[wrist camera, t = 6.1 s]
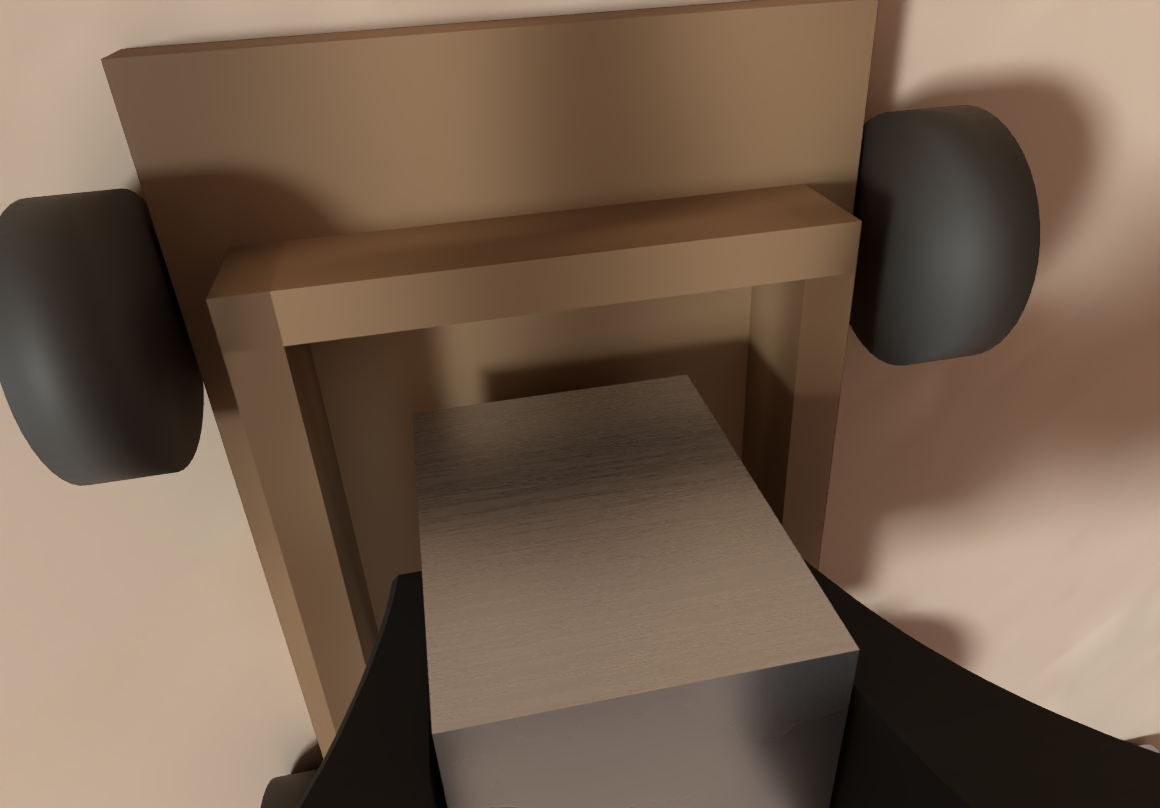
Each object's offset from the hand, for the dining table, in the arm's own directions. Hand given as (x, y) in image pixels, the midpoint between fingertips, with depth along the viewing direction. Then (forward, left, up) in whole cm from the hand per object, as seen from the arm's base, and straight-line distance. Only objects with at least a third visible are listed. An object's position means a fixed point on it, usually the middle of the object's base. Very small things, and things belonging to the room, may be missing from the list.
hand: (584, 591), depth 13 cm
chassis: (0, +2, -4) cm, 4 cm away
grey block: (0, 0, -2) cm, 2 cm away
